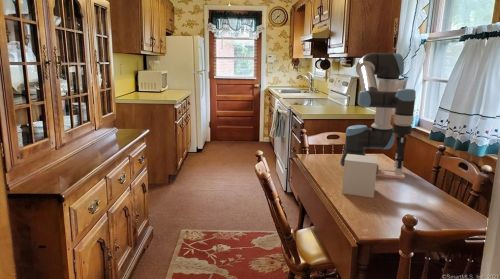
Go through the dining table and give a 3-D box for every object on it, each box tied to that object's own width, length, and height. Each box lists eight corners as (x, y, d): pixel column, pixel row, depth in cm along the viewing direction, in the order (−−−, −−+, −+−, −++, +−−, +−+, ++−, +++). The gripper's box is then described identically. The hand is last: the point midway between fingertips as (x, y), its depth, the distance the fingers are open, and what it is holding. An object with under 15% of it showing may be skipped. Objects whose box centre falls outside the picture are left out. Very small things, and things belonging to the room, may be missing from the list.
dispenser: (344, 185, 182) (347, 153, 179) (376, 189, 177) (379, 157, 174) (341, 193, 171) (344, 159, 168) (375, 197, 166) (379, 163, 163)
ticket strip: (349, 168, 177) (349, 166, 176) (403, 175, 169) (404, 173, 169) (348, 172, 171) (348, 170, 171) (404, 179, 163) (404, 176, 163)
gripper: (393, 120, 175) (388, 163, 179) (394, 128, 152) (389, 177, 156) (410, 121, 172) (405, 165, 176) (414, 129, 149) (408, 180, 153)
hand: (397, 171), depth 166 cm, fingers open, 13 cm apart
